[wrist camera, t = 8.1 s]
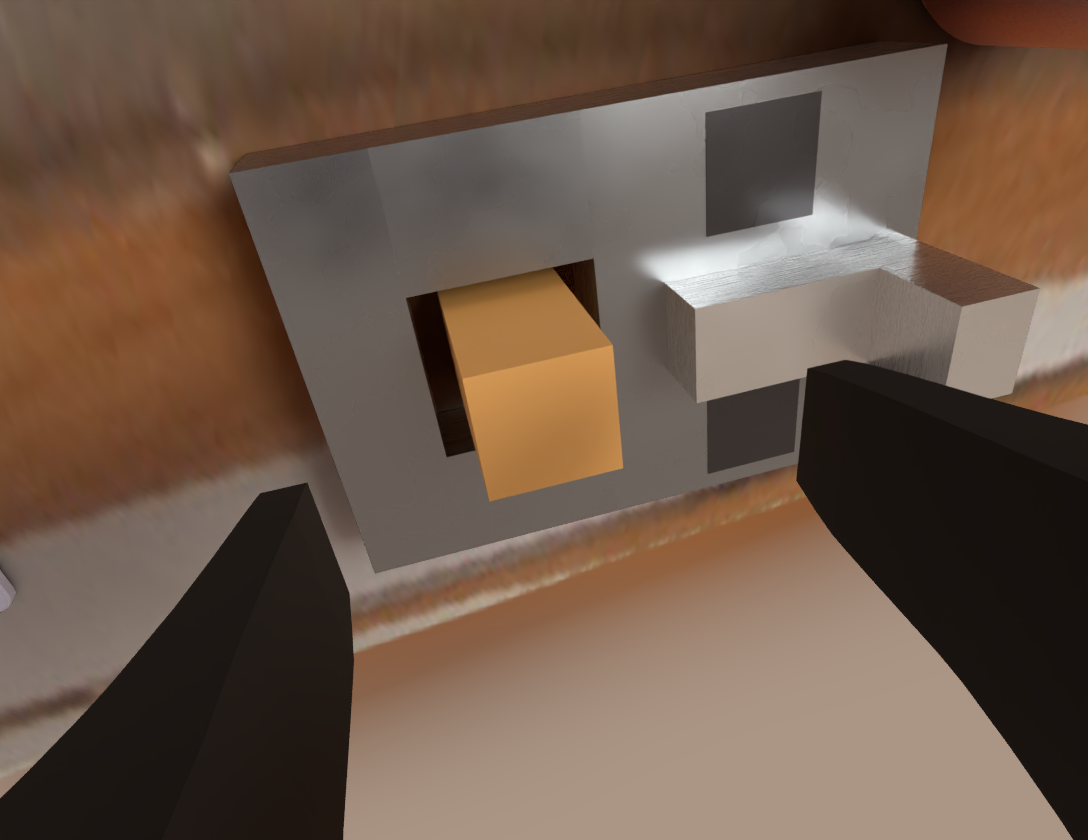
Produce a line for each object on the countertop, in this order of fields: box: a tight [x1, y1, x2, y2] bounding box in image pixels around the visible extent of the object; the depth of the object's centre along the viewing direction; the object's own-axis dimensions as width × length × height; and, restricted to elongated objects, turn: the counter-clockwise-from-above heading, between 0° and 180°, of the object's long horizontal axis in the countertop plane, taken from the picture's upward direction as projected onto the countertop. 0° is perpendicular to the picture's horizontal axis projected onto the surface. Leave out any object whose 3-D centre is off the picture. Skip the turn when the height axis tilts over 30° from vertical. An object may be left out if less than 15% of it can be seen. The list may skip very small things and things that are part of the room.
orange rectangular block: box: [437, 267, 623, 502], centre depth 16 cm, size 3×3×6 cm
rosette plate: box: [229, 41, 948, 573], centre depth 18 cm, size 16×11×2 cm
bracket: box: [665, 233, 1040, 403], centre depth 16 cm, size 6×2×4 cm, turn 98°
